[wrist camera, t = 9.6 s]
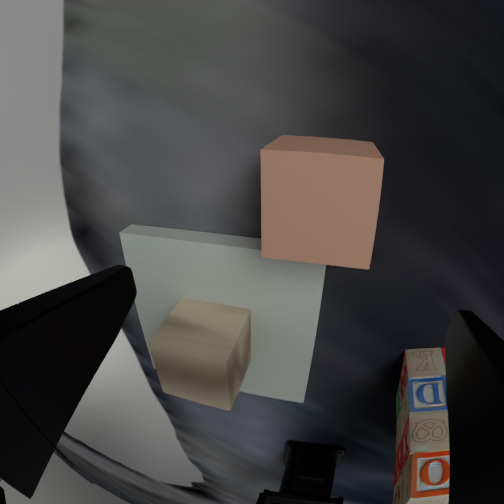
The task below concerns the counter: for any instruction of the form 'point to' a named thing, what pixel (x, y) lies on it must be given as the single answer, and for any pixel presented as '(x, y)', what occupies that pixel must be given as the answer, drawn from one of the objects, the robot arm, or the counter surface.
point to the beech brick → (203, 352)
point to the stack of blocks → (422, 430)
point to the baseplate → (232, 297)
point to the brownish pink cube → (320, 200)
